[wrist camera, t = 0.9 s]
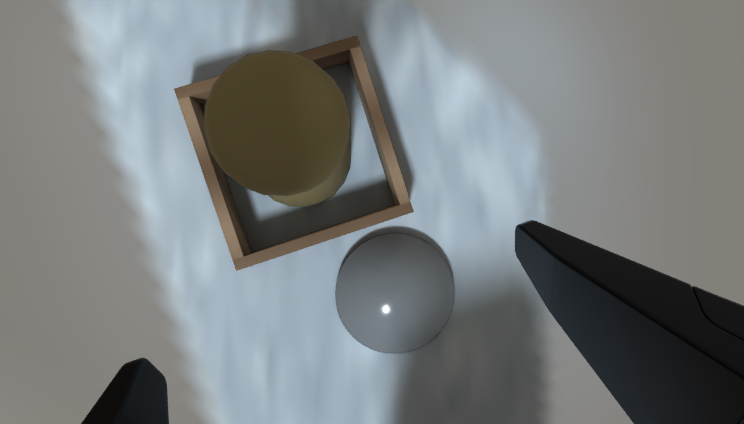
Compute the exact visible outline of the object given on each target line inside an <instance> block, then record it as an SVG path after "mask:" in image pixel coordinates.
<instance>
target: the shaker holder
mask: <svg viewBox="0 0 744 424" xmlns="http://www.w3.org/2000/svg"><path fill="white" fill-rule="evenodd" d="M296 54H297V55H299V56H302V57H304V58H307V59H309V60H311V61H313V62H314V63H315V64H317V65H318V66H319V67H320V68H321V69H323V70H324V69H327V68H330V67H334V66H337V65H341V64H344V63H347V62H349V64H350V67H351V71H352V74H353V77H354V80H355V83H356V86H357V89H358V92H359V95H360V98H361V102H362V105H363V108H364V111H365V114H366V117H367V120H368V123H369V126H370V129H371V132H372V136H373V139H374V142H375V145H376V148H377V151H378V154H379V157H380V160H381V163H382V167H383V170H384V173H385V176H386V179H387V182H388V185H389V188H390V191H391V194H392V197H393V201H394V204H395V205H394V206H391V207H388V208H385V209H382V210H378V211H375V212H372V213H369V214H366V215H363V216H360V217H357V218H354V219H351V220H348V221H345V222H342V223H339V224H336V225H333V226H330V227H327V228H324V229H321V230H318V231H315V232H312V233H309V234H306V235H303V236H300V237H297V238H294V239H291V240H287V241H284V242H281V243H278V244H275V245H272V246H269V247H266V248H263V249H260V250H257V251H254V252H251V251H250V248H249V245H248V242H247V239H246V236H245V233H244V230H243V227H242V224H241V221H240V218H239V216H238V213H237V210H236V207H235V204H234V201H233V198H232V195H231V192H230V189H229V186H228V183H227V180H226V177H225V174H224V171H223V170H222V168H221V167H220V165H219V164H218V162H217V161H216V159H215V158H214V156H213V155H212V153H211V151H210V148H209V144H208V140H207V137H206V133H205V130H204V113H203V110H202V107H201V106H202V105H205V104H206V101H207V99H208V96H209V93H210V91H211V88H212V86H213V84H214V83H215V81H216V80H217V79H218V78H219V77H220V76H216V77H213V78H210V79H206V80H203V81H199V82H196V83H192V84H189V85H185V86H182V87H179V88H175V89H174V90H175V93H176V96H177V99H178V102H179V105H180V108H181V111H182V113H183V116H184V119H185V122H186V125H187V128H188V131H189V134H190V137H191V140H192V143H193V146H194V149H195V151H196V154H197V157H198V160H199V163H200V166H201V169H202V172H203V175H204V178H205V181H206V184H207V187H208V189H209V192H210V195H211V198H212V201H213V204H214V207H215V210H216V213H217V216H218V219H219V222H220V225H221V227H222V230H223V233H224V236H225V239H226V242H227V245H228V248H229V251H230V254H231V257H232V260H233V262H234V265H235V268H236V271H237V270H240V269H243V268H246V267H249V266H252V265H255V264H258V263H261V262H264V261H267V260H270V259H273V258H276V257H279V256H282V255H285V254H288V253H291V252H294V251H297V250H300V249H303V248H306V247H309V246H312V245H315V244H318V243H321V242H324V241H327V240H330V239H333V238H336V237H339V236H342V235H345V234H348V233H351V232H354V231H357V230H360V229H363V228H366V227H369V226H372V225H375V224H378V223H381V222H384V221H387V220H390V219H393V218H396V217H399V216H402V215H405V214H408V213H411V212H414V211H413V208H412V205H411V202H410V199H409V196H408V193H407V190H406V187H405V183H404V180H403V177H402V174H401V171H400V168H399V165H398V162H397V159H396V155H395V152H394V149H393V146H392V143H391V140H390V137H389V134H388V131H387V127H386V124H385V121H384V118H383V115H382V112H381V109H380V106H379V103H378V99H377V96H376V93H375V90H374V87H373V84H372V81H371V78H370V75H369V71H368V68H367V65H366V62H365V59H364V56H363V53H362V50H361V47H360V43H359V40H358V37H357V36H354V37H351V38H347V39H344V40H340V41H337V42H334V43H330V44H327V45H323V46H320V47H316V48H313V49H309V50H306V51H303V52H299V53H296Z"/></svg>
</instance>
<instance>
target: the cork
mask: <svg viewBox="0 0 744 424" xmlns="http://www.w3.org/2000/svg"><path fill="white" fill-rule="evenodd" d="M204 130H205V133H206V137H207V140H208V144H209V148H210V151H211V153H212V155H213V156H214V158H215V159H216V161H217V162H218V164H219V165H220V167H221V168H222V170H223V171H224V173H226V174H227V175H228V176H229V177H231V178H232V179H233V180H234V181H236V182H237V183H238V184H240V185H241V186H242V187H244V188H247V189H250V190H252V191H255V192H258V193H260V194H263V195H268V196H269V197H271V198H272V199H273V200H274V201H277V202H280V203H282V204H285V205H288V206H293V207H308V206H312V205H316V204H320V203H322V202H324V201H325V200H327V199H328V198H330V197H331V196H333V195H335V193H336V192H337V191H338V190H339V188H340V187H341V186H342V185H343V183H344V182H345V180H346V177H347V174H348V172H349V169H350V160H351V150H350V147H349V135H350V115H349V112H348V108H347V104H346V100H345V97H344V95H343V94H342V92H341V90H340V89H339V87H338V86H337V84H336V83H335V81H334V79H333V78H332V77H331V76H330V75H329V74H327V73H326V72H325V71H324V70H323V69H321V68H320V67H319V66H318V65H317V64H315V63H314V62H313V61H311V60H309V59H307V58H304V57H302V56H299V55H297V54H295V53H292V52H283V51H272V50H268V51H264V52H259V53H255V54H250V55H247V56H245V57H243V58H242V59H240V60H238V61H237V62H235V63H233V64H232V65H230V66H228V67H227V68H226V70H225V71H224V72H223V73H222V74H221V75H220V77H219V78H218V79H217V80H216V81H215V83H214V84H213V86H212V88H211V91H210V93H209V96H208V99H207V101H206V104H205V115H204Z"/></svg>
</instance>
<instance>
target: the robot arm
mask: <svg viewBox="0 0 744 424" xmlns="http://www.w3.org/2000/svg"><path fill="white" fill-rule="evenodd" d="M515 252H516V255H517V258H518V259H519V261H520V263H521V265H522V266H523V268H524V270H525V271H526V273H527V275H528V276H529V278H530V280H531V281H532V283H533V285H534V287H535V288H536V290H537V292H538V293H539V295H540V297H541V298H542V300H543V302H544V303H545V305H546V307H547V308H548V310H549V311H550V312H551V314H552V315H553V317H554V318H555V319H556V321H557V322H558V323H559V325H560V326H561V327H562V329H563V330H564V331H565V333H566V334H567V335H568V337H569V338H570V339H571V341H572V342H573V343H574V345H575V346H576V347H577V348H578V350H579V351H580V353H581V354H582V355H583V357H584V358H585V359H586V360H587V362H588V363H589V364H590V366H591V367H592V368H593V370H594V371H595V372H596V374H597V375H598V376H599V378H600V379H601V380H602V382H603V383H604V384H605V386H606V387H607V388H608V390H609V391H610V392H611V394H612V395H613V396H614V398H615V399H616V400H617V402H618V403H619V404H620V406H621V407H622V408H623V410H624V411H625V412H626V414H627V415H628V416H629V417H630V419H631V420H632V421H633V423H634V424H744V306H743V305H741V304H738V303H736V302H733V301H730V300H728V299H725V298H723V297H720V296H718V295H715V294H712V293H710V292H708V291H705V290H703V289H700V288H698V287H695V286H693V287H691V285H690V284H688V283H685V282H683V281H680V280H678V279H676V278H673V277H671V276H668V275H666V274H663V273H661V272H659V271H656V270H654V269H651V268H649V267H646V266H644V265H642V264H639V263H637V262H634V261H631V260H629V259H627V258H625V257H622V256H620V255H617V254H615V253H612V252H610V251H607V250H605V249H603V248H600V247H598V246H595V245H593V244H590V243H588V242H586V241H583V240H580V239H578V238H576V237H573V236H571V235H568V234H566V233H564V232H561V231H559V230H556V229H554V228H551V227H549V226H547V225H544V224H542V223H539V222H537V221H533V220H531V221H527V222H524V223H522V224H519V225H517V227H516V229H515ZM81 424H169V416H168V396H167V383H166V380H165V377H164V376H163V374H162V373H161V372H160V371H159V370H157V368H156V367H155V366H154V365H153V364H151V362H150V361H149V360H147V359H145V358H139V359H136V360H134V361H131V362H128V363H126V364H124V365H123V366H122V367H121V369H120V370H119V371H118V373H117V374H116V376H115V377H114V378H113V380H112V381H111V383H110V384H109V385H108V387H107V388H106V390H105V391H104V392H103V394H102V395H101V397H100V398H99V399H98V401H97V402H96V404H95V405H94V406H93V408H92V409H91V411H90V412H89V413H88V415H87V416H86V418H85V419H84V421H83V422H82V423H81Z"/></svg>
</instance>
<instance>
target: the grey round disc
mask: <svg viewBox="0 0 744 424" xmlns="http://www.w3.org/2000/svg"><path fill="white" fill-rule="evenodd" d="M335 295H336V306H337V310H338V314H339V317H340V319H341V321H342V323H343V325H344V326H345V328H346V329H347V331H348V332H349V333H350V334H351V335H352V337H354V338H355V339H356V340H357V341H358V342H360V343H361V344H363V345H364V346H366V347H368V348H370V349H372V350H375V351H378V352H383V353H393V354H395V353H404V352H409V351H412V350H415V349H418V348H420V347H422V346H424V345H425V344H427V343H428V342H430V341H431V340H432V339H433V338H434V337H436V336H437V334H438V333H439V332H440V331H441V330H442V328H443V327H444V326H445V324H446V322H447V320H448V318H449V316H450V313H451V311H452V307H453V303H454V283H453V278H452V274H451V271H450V269H449V267H448V265H447V263H446V261H445V260H444V258H443V257H442V256H441V254H440V253H439V252H438V251H437V250H436V249H435V248H434V247H432V246H431V245H430V244H428V243H427V242H425V241H423V240H421V239H419V238H416V237H414V236H411V235H406V234H398V233H393V234H384V235H380V236H377V237H373V238H371V239H369V240H367V241H365V242H364V243H362V244H361V245H359V246H358V247H357V248H356V249H355V250H354V251H353V252H352V253H351V254H350V255H349V256H348V257H347V259H346V260H345V262H344V264H343V265H342V267H341V269H340V272H339V275H338V278H337V282H336V291H335Z"/></svg>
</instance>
